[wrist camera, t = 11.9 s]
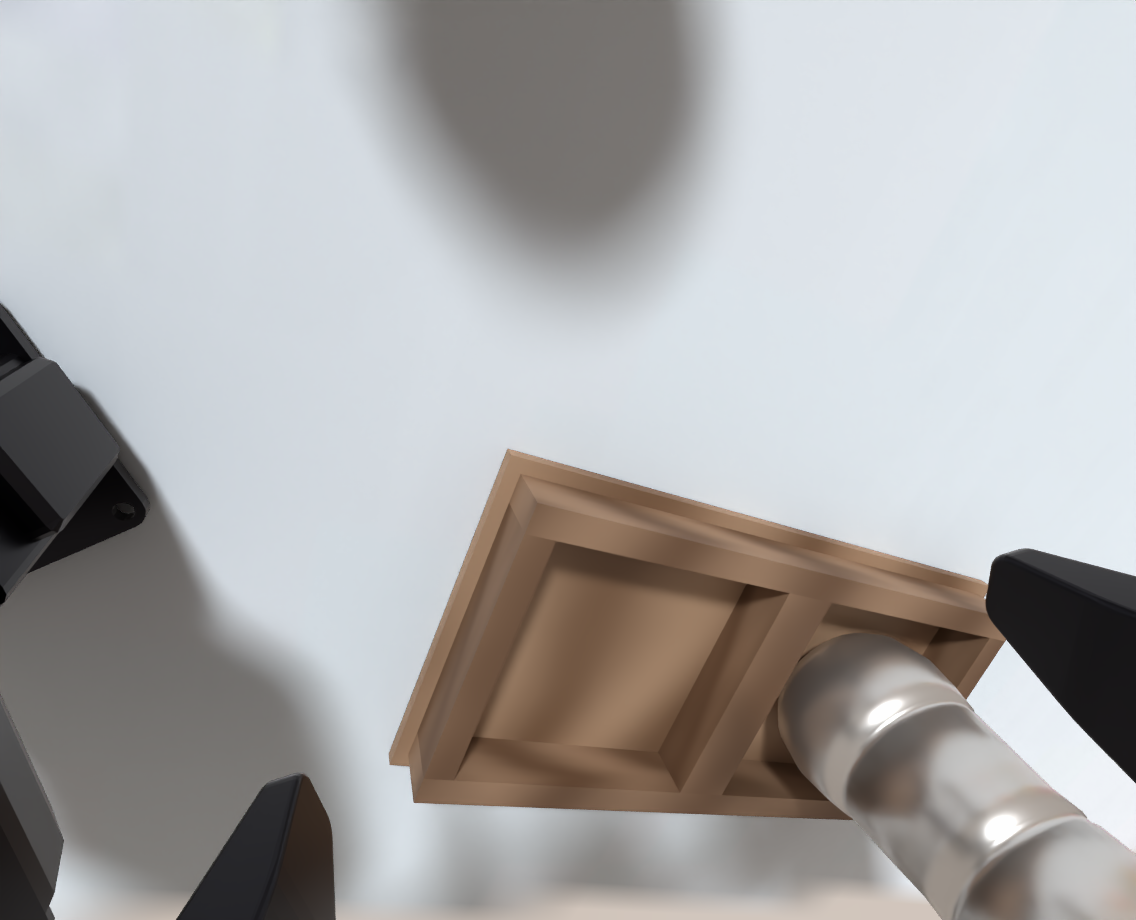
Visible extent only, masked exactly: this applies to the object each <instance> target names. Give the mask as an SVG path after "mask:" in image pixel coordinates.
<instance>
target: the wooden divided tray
mask: <svg viewBox="0 0 1136 920" xmlns="http://www.w3.org/2000/svg"><path fill="white" fill-rule="evenodd" d="M987 589H988V584H986V583H985V582H983V581H981V580H978V579H974V578H971V577H967V576H964V575H960V574H956V573H953V572H949V571H946V570H942V569H938V568H935V567H931V566H928V565H924V564H920V563H917V562H913V561H910V560H906V559H902V558H899V557H895V556H892V555H888V554H884V553H881V552H877V551H874V550H870V549H866V548H863V547H859V546H856V545H852V544H848V543H845V542H841V541H838V540H834V539H830V538H827V537H823V536H820V535H816V534H812V533H809V532H805V531H802V530H798V529H794V528H791V527H787V526H784V525H780V524H776V523H773V522H769V521H766V520H762V519H758V518H755V517H751V516H748V515H744V514H740V513H737V512H733V511H730V510H726V509H722V508H719V507H715V506H712V505H708V504H704V503H701V502H697V501H694V500H690V499H686V498H683V497H679V496H676V495H672V494H668V493H665V492H661V491H658V490H654V489H651V488H647V487H643V486H640V485H636V484H633V483H629V482H625V481H622V480H618V479H615V478H611V477H607V476H604V475H600V474H597V473H593V472H589V471H586V470H582V469H579V468H575V467H571V466H568V465H564V464H561V463H557V462H553V461H550V460H546V459H543V458H539V457H535V456H532V455H528V454H525V453H521V452H517V451H514V450H510V449H507V452H506V454H505V457H504V459H503V462H502V465H501V467H500V470H499V472H498V475H497V477H496V480H495V483H494V485H493V488H492V490H491V493H490V495H489V498H488V500H487V503H486V506H485V508H484V511H483V513H482V516H481V518H480V521H479V524H478V526H477V529H476V531H475V534H474V536H473V539H472V542H471V544H470V547H469V549H468V552H467V554H466V557H465V559H464V562H463V565H462V567H461V570H460V572H459V575H458V577H457V580H456V583H455V585H454V588H453V590H452V593H451V595H450V598H449V601H448V603H447V606H446V608H445V611H444V613H443V616H442V619H441V621H440V624H439V626H438V629H437V631H436V634H435V636H434V639H433V642H432V644H431V647H430V649H429V652H428V654H427V657H426V660H425V662H424V665H423V667H422V670H421V672H420V675H419V678H418V680H417V683H416V685H415V688H414V690H413V693H412V695H411V698H410V701H409V703H408V706H407V708H406V711H405V713H404V716H403V719H402V721H401V724H400V726H399V729H398V731H397V734H396V737H395V739H394V742H393V744H392V747H391V749H390V752H389V762H390V765H401V766H410V774H411V783H412V792H413V801H414V803H434V804H459V805H484V806H510V807H535V808H560V809H586V810H611V811H636V812H661V813H687V814H712V815H737V816H763V817H788V818H813V819H839V820H853V819H852V818H850V817H849V816H848V815H846V814H845V813H844V812H843V811H841V810H840V809H839V808H838V807H837V806H835V805H834V804H833V803H832V802H831V801H830V800H828V799H827V798H826V797H825V796H824V795H823V794H822V793H821V792H820V791H819V790H818V789H817V788H816V787H815V786H814V785H813V784H812V783H811V782H810V781H809V780H808V779H807V778H806V777H805V776H804V775H803V774H802V773H801V771H800V770H799V768H798V767H797V765H796V763H795V762H794V760H793V758H792V756H791V754H790V752H789V750H788V749H787V747H786V745H785V743H784V741H783V739H782V738H781V735H780V731H779V728H778V698H779V694H780V692H781V691H782V689H783V687H784V685H785V684H786V682H787V680H788V678H789V677H790V675H791V673H792V671H793V670H794V668H795V666H796V664H797V663H798V662H799V661H800V660H801V659H802V658H803V657H804V656H806V655H807V654H808V653H809V652H810V651H812V650H813V649H814V648H816V647H817V646H819V645H820V644H822V643H824V642H826V641H828V640H830V639H832V638H835V637H838V636H841V635H845V634H851V633H867V634H877V635H884V636H887V637H891V638H893V639H895V640H897V641H898V642H900V643H902V644H903V645H905V646H907V647H909V648H910V649H912V650H914V651H915V652H917V653H919V654H921V655H922V656H924V657H926V658H927V659H929V660H930V661H931V662H932V663H933V664H934V665H935V666H936V667H937V668H938V669H939V670H940V671H941V672H942V673H943V675H944V676H945V677H946V678H947V679H948V680H949V681H950V682H951V683H952V684H953V685H954V686H955V687H956V689H957V690H958V691H959V692H960V693H961V695H962V696H963V697H964V698H965V700H966V699H967V698H968V696H969V695H970V693H971V692H972V690H973V689H974V687H975V686H976V684H977V683H978V681H979V680H980V678H981V677H982V675H983V674H984V672H985V671H986V669H987V668H988V666H989V665H990V663H991V662H992V660H993V659H994V657H995V656H996V654H997V653H998V651H999V650H1000V648H1001V647H1002V645H1003V644H1004V642H1005V641H1006V639H1005V637H1004V636H1003V635H1002V634H1001V633H1000V631H999V630H998V629H997V628H996V627H995V625H994V624H993V623H992V621H991V620H990V618H989V616H988V614H987V611H986V606H985V601H986V600H985V599H984V597H985V595H986V593H987Z"/></svg>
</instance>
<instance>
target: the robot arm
mask: <svg viewBox="0 0 1136 920" xmlns="http://www.w3.org/2000/svg"><path fill="white" fill-rule="evenodd" d="M119 451H120V447H119V446H118V444H117V443H116V441H115V440H114V439H113V437H112V436H111V435H110V433H109V432H108V431H107V429H106V428H105V427H104V425H103V424H102V423H101V421H100V420H99V419H98V417H97V416H96V415H95V413H94V412H93V411H92V409H91V408H90V407H89V405H88V404H87V403H86V401H85V400H84V399H83V397H82V396H81V395H80V393H79V392H78V391H77V389H76V388H75V387H74V385H73V384H72V383H71V381H70V380H69V379H68V377H67V376H66V375H65V373H64V372H63V371H62V369H61V368H60V367H59V365H58V364H57V363H56V362H54V361H51V360H48V359H46V358H43V357H40V355H39V354H38V353H37V351H36V350H35V349H34V348H33V346H32V345H31V344H30V342H29V341H28V340H27V338H26V337H25V336H24V334H23V333H22V332H21V330H20V329H19V328H18V326H17V325H16V324H15V323H14V321H13V320H12V319H11V317H10V316H9V315H8V313H7V312H6V311H5V309H4V308H3V307H2V305H1V304H0V607H1V606H2V605H3V603H4V602H5V601H6V600H7V598H8V597H9V596H10V594H11V593H12V592H13V591H14V589H15V588H16V587H17V586H18V584H19V583H20V582H21V580H22V579H23V578H24V577H25V575H26V574H27V573H30V572H32V571H34V570H37V569H39V568H41V567H44V566H46V565H48V564H50V563H53V562H55V561H57V560H60V559H62V558H64V557H67V556H69V555H71V554H74V553H76V552H78V551H81V550H83V549H85V548H88V547H90V546H92V545H95V544H97V543H99V542H102V541H104V540H106V539H109V538H111V537H113V536H116V535H118V534H120V533H122V532H125V531H127V530H129V529H132V528H134V527H136V526H138V525H139V524H141V523H142V522H143V520H144V518H145V517H146V515H147V513H148V511H149V508H150V503H149V501H148V498H147V496H146V495H145V494H144V493H143V491H142V490H141V489H140V487H139V486H138V485H137V483H136V482H135V481H134V479H133V478H132V477H131V475H130V474H129V473H128V471H127V470H126V469H125V467H124V466H123V465H122V464H121V462H120V461H119V460H118V458H117V457H118V454H119ZM118 503H127V504H130V505H131V506H132V507H134V510H135V512H134V513H129V514H128V513H123V512H121V511H120V510H119V509H118V507H117V505H116V504H118ZM985 606H986V611H987V614H988V616H989V618H990V620H991V621H992V623H993V624H994V625H995V627H996V628H997V629H998V630H999V631H1000V633H1001V634H1002V635H1003V636H1004V637H1005V639H1006V640H1007V641H1008V642H1009V643H1010V645H1011V646H1012V647H1013V648H1014V649H1015V651H1016V652H1017V653H1018V654H1019V655H1020V657H1021V658H1022V659H1023V660H1024V661H1025V663H1026V664H1027V665H1028V666H1029V667H1030V669H1031V670H1032V671H1033V672H1034V673H1035V675H1036V676H1037V677H1038V678H1039V679H1040V681H1041V682H1042V683H1043V684H1044V685H1045V687H1046V688H1047V689H1048V690H1049V692H1050V693H1051V694H1052V695H1053V696H1054V698H1055V699H1056V700H1057V701H1058V702H1059V703H1060V705H1061V706H1062V707H1063V708H1064V709H1065V710H1066V712H1067V713H1068V714H1069V715H1070V716H1071V717H1072V718H1073V720H1074V721H1075V722H1076V723H1077V724H1078V725H1079V726H1080V727H1081V728H1082V729H1083V730H1084V731H1085V732H1086V733H1087V734H1088V735H1089V736H1090V737H1091V738H1092V739H1093V740H1094V742H1095V743H1096V744H1097V745H1098V746H1099V747H1100V748H1101V749H1102V750H1103V751H1104V752H1105V753H1106V754H1107V755H1108V756H1109V757H1110V758H1111V759H1112V760H1113V761H1114V762H1115V763H1116V764H1117V765H1118V766H1119V767H1120V768H1121V769H1122V770H1123V771H1124V772H1125V773H1126V774H1127V775H1128V776H1129V777H1130V778H1131V779H1132V780H1133V781H1134V782H1135V783H1136V576H1132V575H1128V574H1125V573H1121V572H1117V571H1113V570H1110V569H1106V568H1102V567H1098V566H1094V565H1091V564H1087V563H1083V562H1079V561H1075V560H1072V559H1068V558H1064V557H1060V556H1056V555H1053V554H1049V553H1045V552H1041V551H1037V550H1034V549H1027V548H1024V549H1018V550H1015V551H1012V552H1009V553H1005V554H1002V555H999V556H998V557H996V558H995V559H994V561H993V562H992V566H991V571H990V577H989V583H988V589H987V595H986V601H985ZM63 842H64V840H63V837H62V834H61V832H60V829H59V826H58V823H57V821H56V818H55V815H54V812H53V809H52V807H51V804H50V802H49V800H48V797H47V795H46V793H45V791H44V789H43V786H42V784H41V782H40V780H39V778H38V775H37V773H36V771H35V769H34V767H33V764H32V762H31V760H30V758H29V756H28V753H27V751H26V749H25V747H24V745H23V742H22V740H21V738H20V736H19V733H18V731H17V729H16V727H15V725H14V722H13V720H12V718H11V716H10V714H9V711H8V709H7V707H6V705H5V703H4V700H3V698H2V696H1V694H0V920H54V919H55V917H54V915H53V913H52V911H51V909H50V907H49V905H50V902H51V900H52V897H53V895H54V893H55V887H56V881H57V876H58V870H59V865H60V859H61V854H62V848H63ZM176 920H336V917H335V891H334V865H333V839H332V830H331V824H330V821H329V817H328V815H327V813H326V811H325V809H324V807H323V805H322V803H321V801H320V799H319V797H318V795H317V793H316V791H315V789H314V787H313V785H312V783H311V781H310V779H309V778H308V776H307V775H305V774H304V773H295V774H292V775H289V776H285V777H282V778H279V779H276V780H273V781H270V782H268V783H267V784H266V785H265V786H264V787H263V788H262V789H261V790H260V792H259V793H258V795H257V796H256V798H255V799H254V801H253V803H252V804H251V806H250V807H249V809H248V810H247V812H246V813H245V815H244V816H243V818H242V819H241V821H240V822H239V824H238V826H237V827H236V829H235V830H234V832H233V833H232V835H231V836H230V838H229V839H228V841H227V842H226V844H225V845H224V847H223V849H222V850H221V852H220V853H219V855H218V856H217V858H216V859H215V861H214V862H213V864H212V865H211V867H210V868H209V870H208V872H207V873H206V875H205V876H204V878H203V879H202V881H201V882H200V884H199V885H198V887H197V888H196V890H195V891H194V893H193V895H192V896H191V898H190V899H189V901H188V902H187V904H186V905H185V907H184V908H183V910H182V911H181V913H180V914H179V916H178V918H177V919H176Z"/></svg>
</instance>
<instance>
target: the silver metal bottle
mask: <svg viewBox="0 0 1136 920" xmlns="http://www.w3.org/2000/svg"><path fill="white" fill-rule="evenodd" d="M778 728H779V731H780V735H781V738H782V739H783V741H784V743H785V745H786V747H787V749H788V750H789V752H790V754H791V756H792V758H793V760H794V762H795V763H796V765H797V767H798V768H799V770H800V771H801V773H802V774H803V775H804V776H805V777H806V778H807V779H808V780H809V781H810V782H811V783H812V784H813V785H814V786H815V787H816V788H817V789H818V790H819V791H820V792H821V793H822V794H823V795H824V796H825V797H826V798H827V799H828V800H830V801H831V802H832V803H833V804H834V805H835V806H837V807H838V808H839V809H840V810H841V811H843V812H844V813H845V814H846V815H848V816H849V817H850V818H852V819H853V820H854V821H855V822H856V823H857V824H858V826H859V827H860V828H861V829H862V830H863V831H864V832H865V833H866V834H867V835H868V836H869V837H870V838H871V840H872V841H873V842H874V843H875V844H876V845H877V846H878V847H879V848H880V849H881V850H882V851H883V852H884V853H885V855H886V856H887V857H888V858H889V859H890V860H891V861H892V862H893V863H894V864H895V865H896V866H897V867H898V869H899V870H900V871H901V872H902V873H903V874H904V875H905V876H906V877H907V878H908V879H909V880H910V881H911V882H912V884H913V885H914V886H915V887H916V888H917V889H918V890H919V891H920V892H921V893H922V894H923V895H924V896H925V898H926V899H927V900H928V902H929V903H930V904H931V906H932V907H933V908H934V910H935V911H936V912H937V914H938V915H939V916H940V918H941V919H942V920H1136V854H1135V853H1134V852H1133V851H1131V850H1130V849H1129V848H1128V847H1126V846H1125V845H1124V844H1122V843H1121V842H1120V841H1119V840H1117V839H1116V838H1115V837H1114V836H1112V835H1111V834H1110V833H1109V832H1107V831H1106V830H1105V829H1104V828H1102V827H1101V826H1099V825H1097V824H1095V823H1092V822H1090V821H1089V820H1088V819H1087V817H1086V816H1085V814H1084V813H1083V812H1082V811H1081V810H1080V809H1078V808H1077V807H1076V806H1075V805H1073V804H1072V803H1071V802H1069V801H1068V800H1067V799H1066V798H1064V797H1063V796H1062V795H1061V794H1059V793H1058V792H1057V791H1055V790H1054V789H1053V788H1052V787H1051V786H1050V785H1049V784H1048V783H1047V782H1046V781H1045V780H1044V779H1042V778H1041V777H1040V776H1039V775H1038V774H1037V773H1036V772H1035V771H1034V770H1033V769H1032V768H1031V767H1030V766H1029V765H1028V764H1027V763H1026V762H1025V761H1024V760H1023V759H1022V758H1021V757H1020V756H1019V755H1018V754H1017V753H1016V752H1015V751H1014V750H1013V749H1012V748H1011V747H1010V746H1009V745H1008V744H1007V743H1006V742H1005V741H1004V740H1003V739H1002V738H1001V737H999V736H998V735H997V734H996V733H995V732H994V731H993V730H992V729H991V728H990V727H989V726H988V725H987V724H986V723H985V722H984V721H983V720H982V719H981V718H980V717H979V716H978V715H977V714H976V713H975V712H974V710H973V708H972V707H971V706H970V705H969V703H968V702H967V701H966V700H965V698H964V697H963V696H962V695H961V693H960V692H959V691H958V690H957V689H956V687H955V686H954V685H953V684H952V683H951V682H950V681H949V680H948V679H947V678H946V677H945V676H944V675H943V673H942V672H941V671H940V670H939V669H938V668H937V667H936V666H935V665H934V664H933V663H932V662H931V661H930V660H929V659H927V658H926V657H924V656H922V655H921V654H919V653H917V652H915V651H914V650H912V649H910V648H909V647H907V646H905V645H903V644H902V643H900V642H898V641H897V640H895V639H893V638H891V637H887V636H884V635H877V634H867V633H851V634H845V635H841V636H838V637H835V638H832V639H830V640H828V641H826V642H824V643H822V644H820V645H819V646H817V647H816V648H814V649H813V650H812V651H810V652H809V653H808V654H807V655H806V656H804V657H803V658H802V659H801V660H800V661H799V662H798V663H797V664H796V666H795V668H794V670H793V671H792V673H791V675H790V677H789V678H788V680H787V682H786V684H785V685H784V687H783V689H782V691H781V692H780V694H779V698H778Z"/></svg>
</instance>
